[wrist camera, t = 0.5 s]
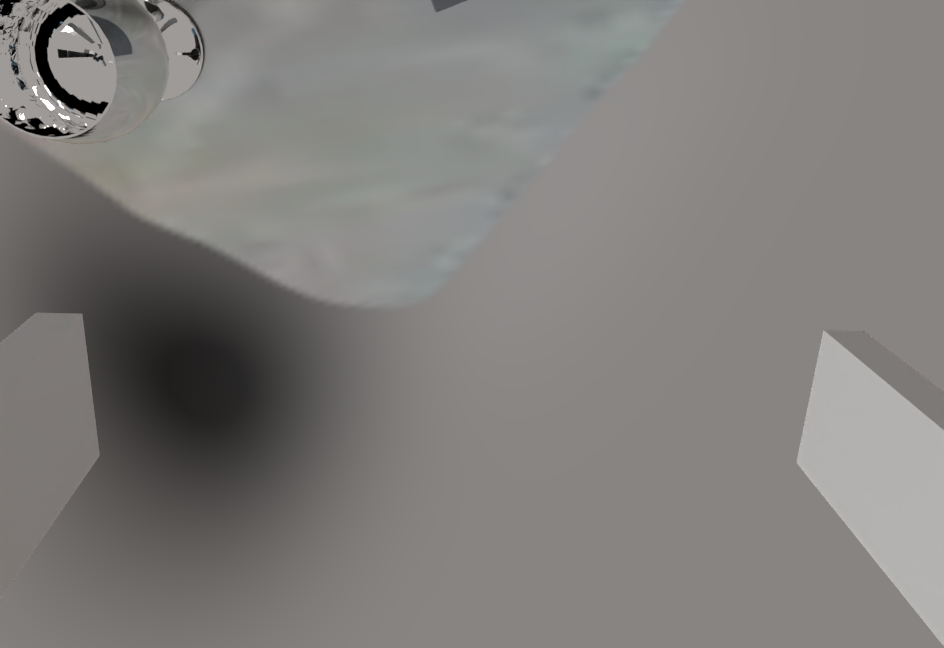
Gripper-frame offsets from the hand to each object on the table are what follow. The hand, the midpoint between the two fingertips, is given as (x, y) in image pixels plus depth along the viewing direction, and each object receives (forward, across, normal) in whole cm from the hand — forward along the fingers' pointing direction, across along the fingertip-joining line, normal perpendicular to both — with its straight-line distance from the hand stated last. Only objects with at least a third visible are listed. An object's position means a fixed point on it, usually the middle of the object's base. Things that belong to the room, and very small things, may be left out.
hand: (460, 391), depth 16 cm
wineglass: (+28, -13, +4) cm, 31 cm away
